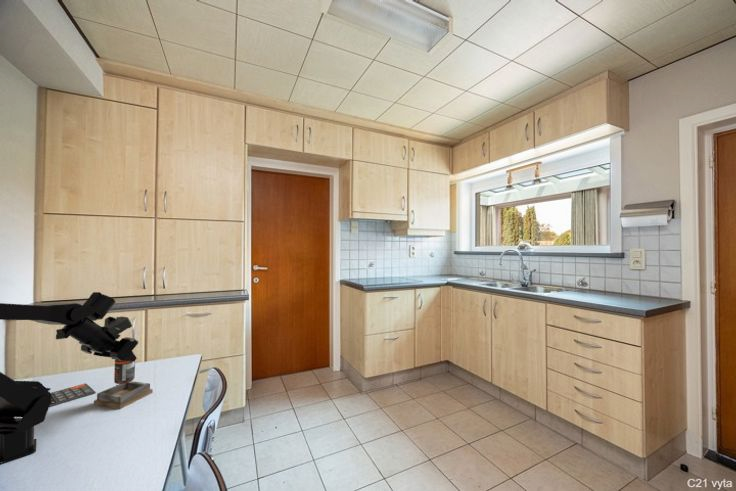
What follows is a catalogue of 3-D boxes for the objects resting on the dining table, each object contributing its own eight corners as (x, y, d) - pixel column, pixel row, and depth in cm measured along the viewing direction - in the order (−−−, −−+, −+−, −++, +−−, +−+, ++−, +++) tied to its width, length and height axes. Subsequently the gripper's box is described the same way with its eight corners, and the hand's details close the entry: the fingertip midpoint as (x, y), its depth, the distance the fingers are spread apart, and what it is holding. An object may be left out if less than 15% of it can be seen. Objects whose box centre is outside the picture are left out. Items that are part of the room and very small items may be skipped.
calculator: (96, 391, 99) (27, 411, 86) (95, 394, 99) (27, 415, 86) (85, 382, 105) (21, 400, 93) (85, 385, 105) (21, 403, 93)
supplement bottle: (110, 382, 94) (111, 351, 94) (129, 376, 99) (130, 347, 99) (118, 386, 92) (119, 354, 92) (137, 379, 96) (138, 349, 96)
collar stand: (152, 392, 99) (152, 383, 99) (120, 408, 89) (120, 398, 89) (128, 389, 102) (128, 379, 102) (93, 404, 91) (94, 394, 92)
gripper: (132, 312, 89) (167, 339, 99) (94, 307, 95) (130, 333, 105) (99, 346, 81) (141, 372, 91) (60, 339, 88) (104, 363, 98)
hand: (129, 358), depth 97 cm, fingers closed on supplement bottle, 5 cm apart
